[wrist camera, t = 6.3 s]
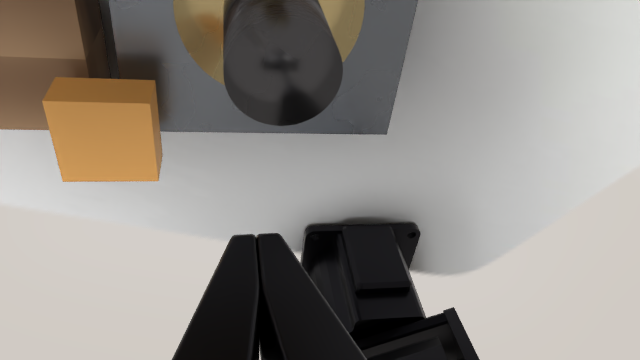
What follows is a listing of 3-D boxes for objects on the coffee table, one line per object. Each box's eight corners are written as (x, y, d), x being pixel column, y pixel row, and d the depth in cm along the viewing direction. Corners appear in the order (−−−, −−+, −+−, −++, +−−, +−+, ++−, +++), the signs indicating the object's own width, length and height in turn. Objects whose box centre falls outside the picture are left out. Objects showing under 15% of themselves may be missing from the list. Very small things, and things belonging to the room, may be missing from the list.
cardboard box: (162, 155, 18) (158, 181, 17) (73, 154, 18) (62, 181, 16) (155, 80, 16) (149, 103, 15) (55, 77, 16) (42, 101, 15)
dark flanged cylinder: (332, 54, 21) (377, 169, 15) (185, 47, 20) (168, 170, 14) (354, -108, 17) (425, -41, 11) (175, -126, 16) (147, -64, 10)
